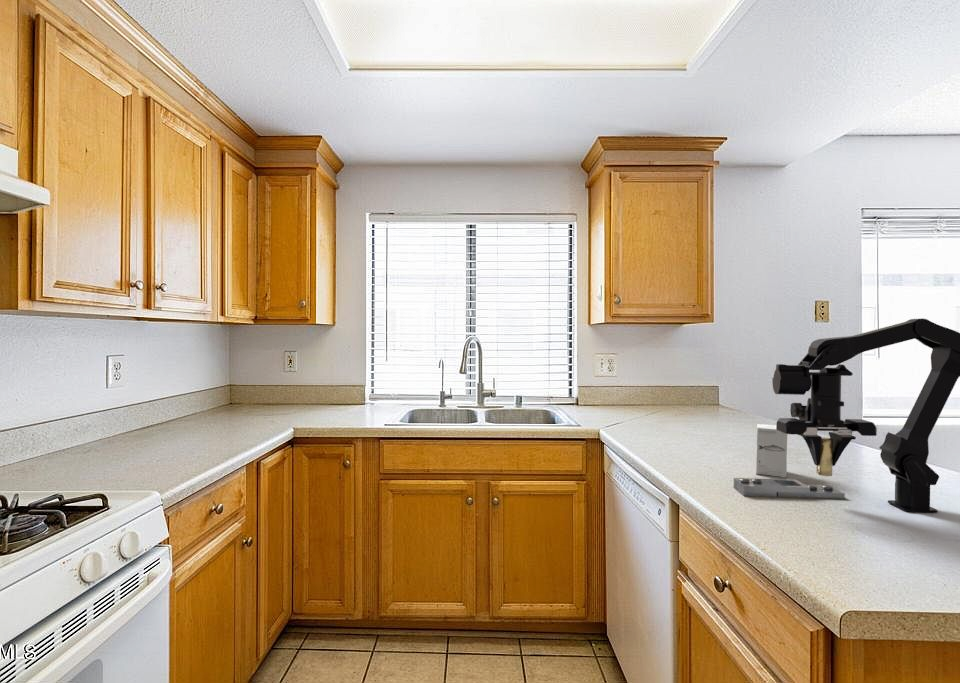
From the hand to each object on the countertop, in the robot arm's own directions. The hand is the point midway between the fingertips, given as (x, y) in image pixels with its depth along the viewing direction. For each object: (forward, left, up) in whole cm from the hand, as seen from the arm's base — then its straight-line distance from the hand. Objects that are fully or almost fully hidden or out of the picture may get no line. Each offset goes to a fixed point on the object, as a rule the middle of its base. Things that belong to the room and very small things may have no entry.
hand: (824, 465), depth 126 cm
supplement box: (+26, +1, -9) cm, 27 cm away
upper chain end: (+7, +9, -8) cm, 14 cm away
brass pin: (0, 0, -2) cm, 2 cm away
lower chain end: (+7, +1, -8) cm, 11 cm away
